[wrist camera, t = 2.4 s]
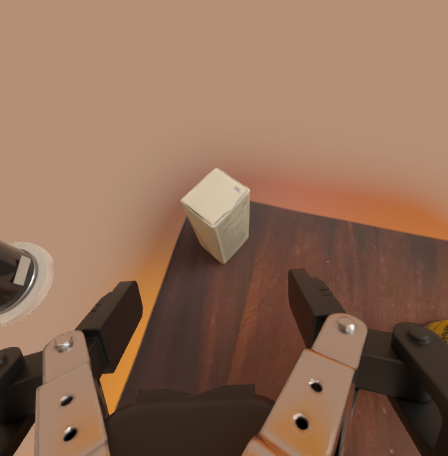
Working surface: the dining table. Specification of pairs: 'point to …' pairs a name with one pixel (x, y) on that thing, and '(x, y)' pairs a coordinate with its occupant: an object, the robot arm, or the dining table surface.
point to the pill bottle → (439, 328)
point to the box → (219, 214)
